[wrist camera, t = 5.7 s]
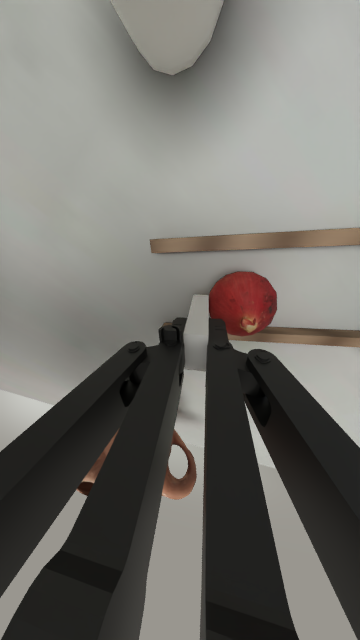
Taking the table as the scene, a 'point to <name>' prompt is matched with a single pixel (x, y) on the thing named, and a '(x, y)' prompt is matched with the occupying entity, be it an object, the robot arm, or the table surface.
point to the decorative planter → (171, 485)
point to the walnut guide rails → (274, 241)
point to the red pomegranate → (243, 303)
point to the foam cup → (169, 29)
